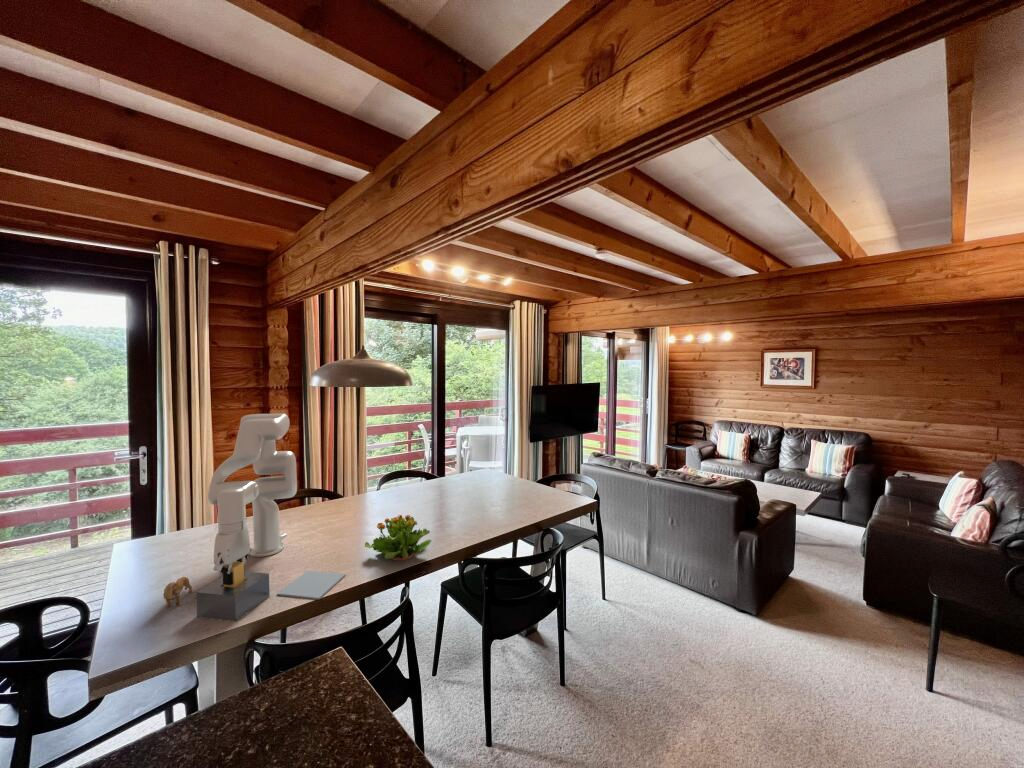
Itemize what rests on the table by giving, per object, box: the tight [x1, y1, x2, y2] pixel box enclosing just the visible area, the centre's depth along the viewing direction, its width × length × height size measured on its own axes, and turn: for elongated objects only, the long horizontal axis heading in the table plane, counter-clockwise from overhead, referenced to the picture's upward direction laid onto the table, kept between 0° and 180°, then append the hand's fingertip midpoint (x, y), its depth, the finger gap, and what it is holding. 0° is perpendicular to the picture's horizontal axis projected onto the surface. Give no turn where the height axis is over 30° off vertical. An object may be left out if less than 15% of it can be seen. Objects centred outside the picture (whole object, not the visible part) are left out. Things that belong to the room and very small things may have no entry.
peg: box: [224, 561, 244, 588], centre depth 135 cm, size 4×4×12 cm
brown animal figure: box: [163, 576, 193, 610], centre depth 138 cm, size 15×5×9 cm, turn 25°
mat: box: [276, 570, 347, 600], centre depth 148 cm, size 16×16×1 cm
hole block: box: [195, 571, 270, 622], centre depth 135 cm, size 14×14×8 cm
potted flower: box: [364, 514, 432, 562], centre depth 171 cm, size 25×24×18 cm
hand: (234, 580), depth 135 cm, fingers closed on peg, 4 cm apart
